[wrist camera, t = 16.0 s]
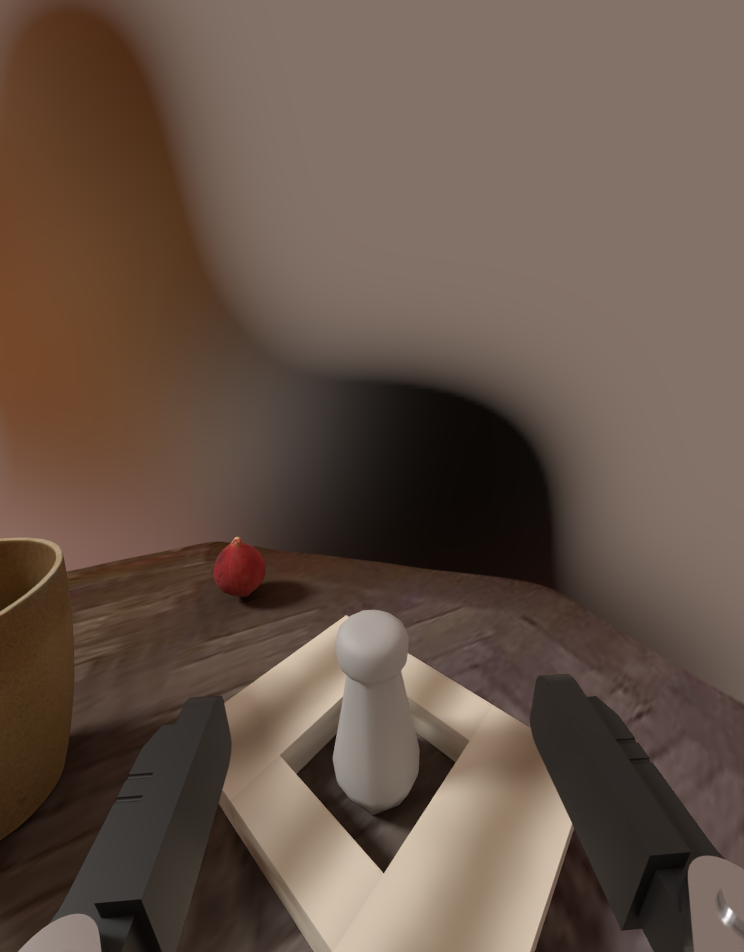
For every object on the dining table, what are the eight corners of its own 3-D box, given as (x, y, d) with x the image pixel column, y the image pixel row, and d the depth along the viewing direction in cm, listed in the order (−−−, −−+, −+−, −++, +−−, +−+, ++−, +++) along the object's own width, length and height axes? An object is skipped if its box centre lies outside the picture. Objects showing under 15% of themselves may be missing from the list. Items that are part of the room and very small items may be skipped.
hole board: (191, 762, 27) (183, 732, 27) (347, 639, 39) (346, 615, 38) (461, 1181, 13) (465, 1149, 12) (583, 797, 25) (591, 765, 24)
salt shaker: (345, 734, 29) (335, 591, 25) (420, 743, 28) (422, 597, 24) (325, 823, 24) (308, 659, 20) (417, 838, 23) (419, 671, 19)
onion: (217, 616, 43) (204, 554, 40) (221, 587, 48) (210, 530, 46) (269, 605, 44) (261, 545, 42) (268, 578, 50) (260, 523, 47)
